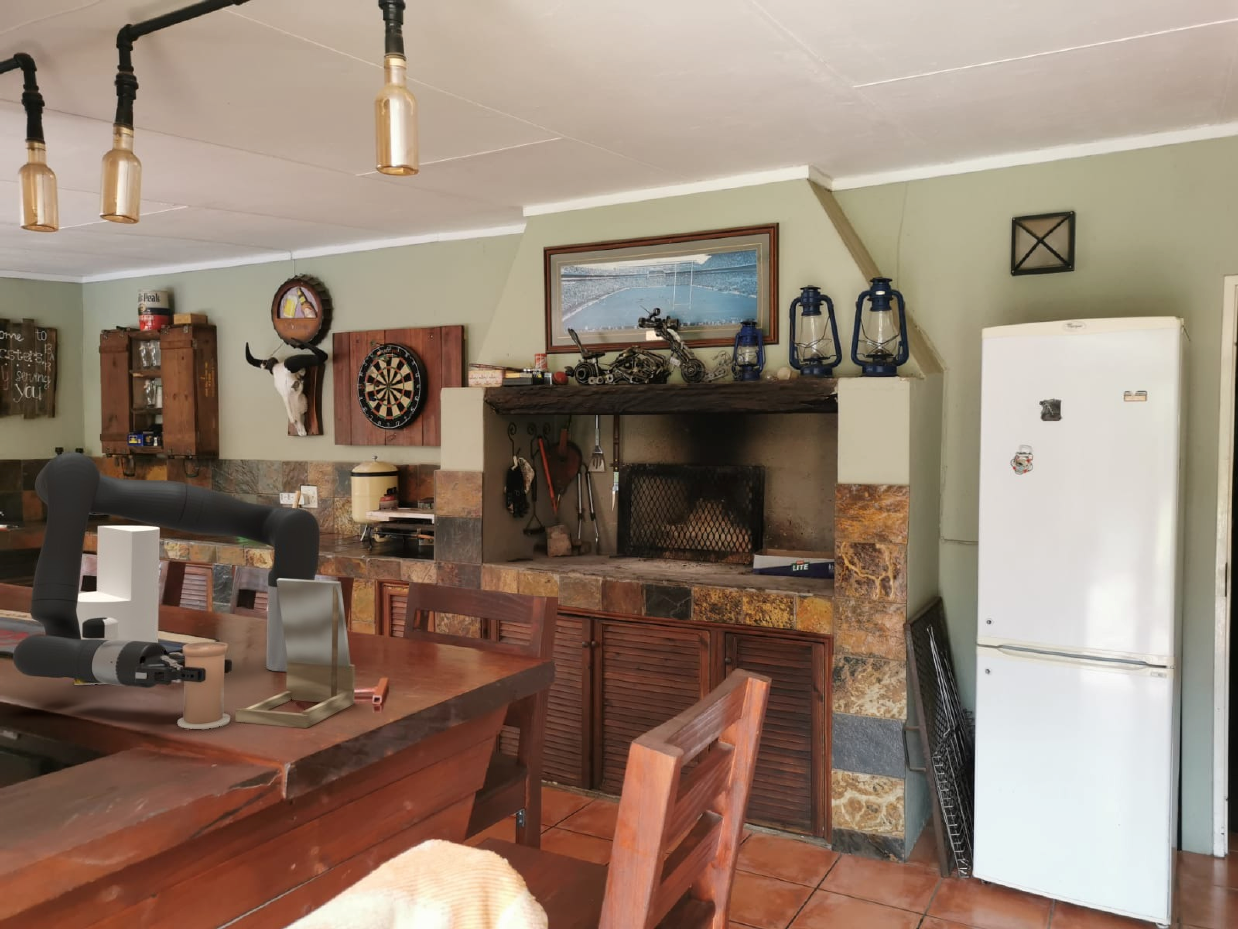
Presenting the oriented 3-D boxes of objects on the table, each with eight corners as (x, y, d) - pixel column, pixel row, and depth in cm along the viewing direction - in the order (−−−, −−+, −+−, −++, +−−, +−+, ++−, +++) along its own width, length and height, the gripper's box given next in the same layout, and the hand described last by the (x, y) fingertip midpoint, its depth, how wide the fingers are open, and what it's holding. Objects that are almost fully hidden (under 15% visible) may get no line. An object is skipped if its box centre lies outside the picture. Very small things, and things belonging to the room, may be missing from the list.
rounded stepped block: (136, 649, 212) (138, 524, 212) (172, 661, 201) (174, 529, 201) (51, 660, 199) (53, 527, 199) (84, 674, 188) (86, 533, 187)
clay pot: (198, 711, 161) (200, 640, 160) (234, 714, 159) (236, 643, 159) (171, 721, 154) (173, 648, 154) (208, 725, 152) (210, 651, 152)
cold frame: (289, 698, 173) (291, 575, 173) (354, 703, 170) (356, 578, 170) (235, 721, 157) (237, 586, 157) (306, 728, 155) (308, 590, 154)
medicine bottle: (73, 686, 179) (74, 622, 179) (83, 677, 186) (84, 616, 185) (115, 684, 181) (116, 621, 180) (124, 675, 187) (125, 615, 187)
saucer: (198, 714, 161) (198, 711, 161) (240, 718, 160) (240, 714, 160) (166, 727, 153) (166, 723, 153) (209, 731, 152) (209, 727, 152)
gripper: (98, 649, 152) (189, 657, 149) (160, 633, 167) (244, 639, 163) (97, 696, 153) (188, 704, 149) (159, 676, 167) (243, 683, 163)
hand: (217, 670), depth 156 cm, fingers open, 6 cm apart
